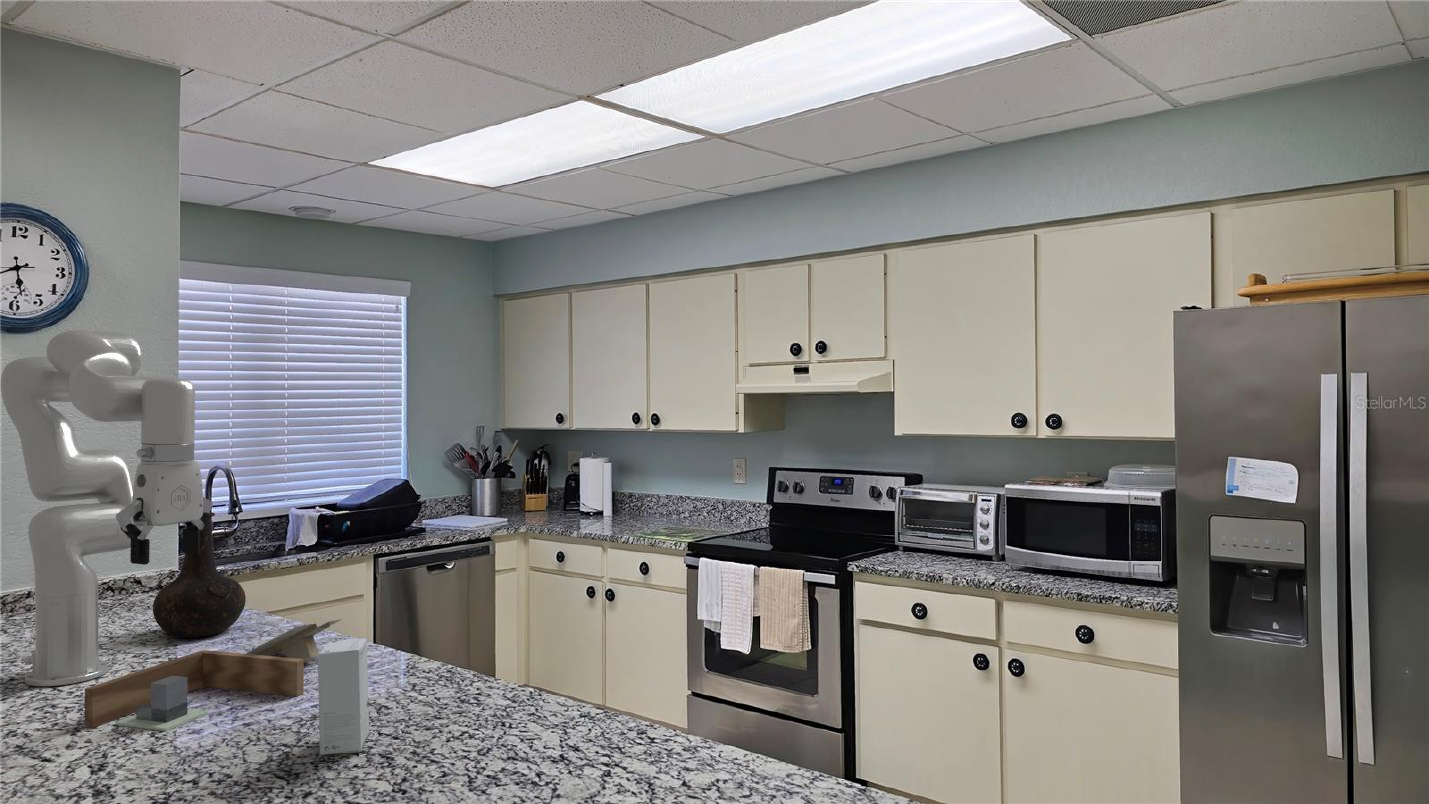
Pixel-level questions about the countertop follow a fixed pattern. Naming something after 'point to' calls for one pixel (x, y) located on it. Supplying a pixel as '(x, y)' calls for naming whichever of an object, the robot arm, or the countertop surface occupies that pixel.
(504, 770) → the countertop surface
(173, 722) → the pad
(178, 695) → the metal block
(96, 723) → the wall
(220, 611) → the glass bottle
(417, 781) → the countertop surface
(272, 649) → the grey angled piece
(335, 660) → the skincare box
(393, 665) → the countertop surface
